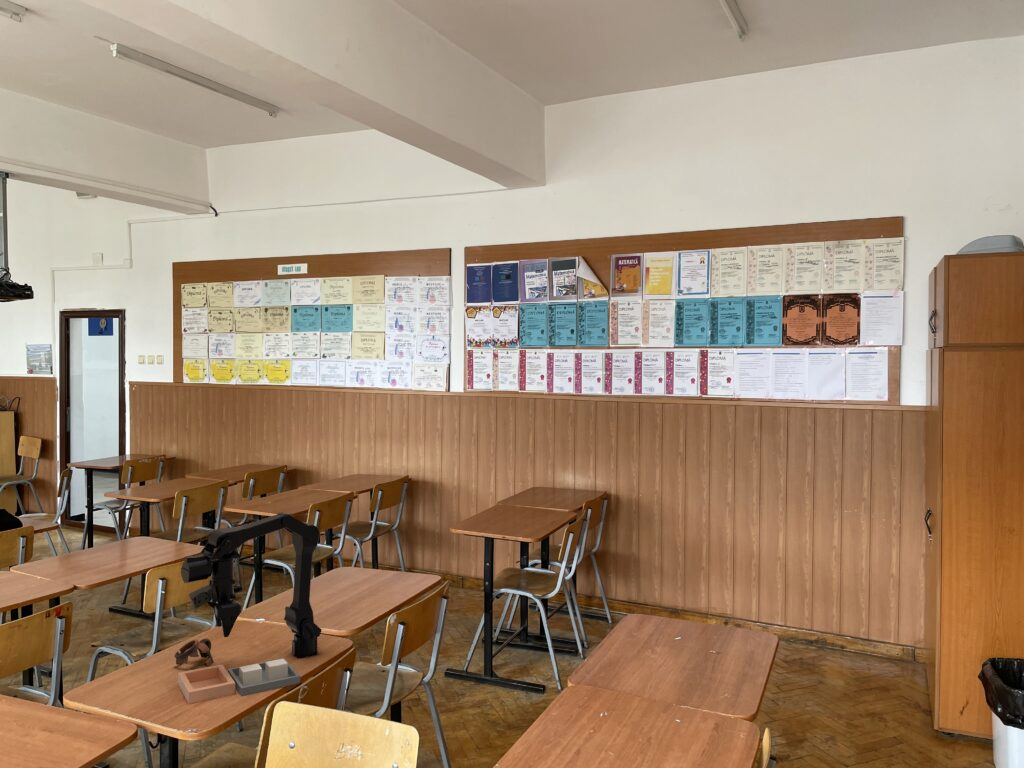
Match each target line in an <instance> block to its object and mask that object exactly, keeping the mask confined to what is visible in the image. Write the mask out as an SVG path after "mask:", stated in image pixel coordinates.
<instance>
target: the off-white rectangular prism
mask: <svg viewBox="0 0 1024 768" xmlns="http://www.w3.org/2000/svg"><path fill="white" fill-rule="evenodd" d="M278 659H279V660H277V659H273V660H274V661H272V660H267V661H268V662H267V661H264V662H265V677H266V678H267V679H268V681H273V680H278V679H282V678H287V677H288V663H289V662H288V661H287V660H286V659H285V658H284V659H285V660H286V661H287V662H288V663H287V662H286V661H285V660H284V659H282V658H278Z"/></svg>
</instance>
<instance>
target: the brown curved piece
mask: <svg viewBox="0 0 1024 768" xmlns="http://www.w3.org/2000/svg"><path fill="white" fill-rule="evenodd" d="M211 649H212V642H211V640H210V639H209V638H207V637H206V638H203V639H201V640H200V641H199V640H198V639H192V640H190V641H188V642H187V643H185V644H184V645H182V646H181V647H180V648H179V651H176V653H175V654H174V658H175V664H176V665H177V666H178V665H179V666H181V665H183V664H187V665H188V662H189V660H188V659H189V657H190V658H199V656H200V658H204V659H207V660H206V661H205V665H206V666H207V667H211V666H213V664H214V659H213V656H212V653H211ZM199 654H200V655H199Z"/></svg>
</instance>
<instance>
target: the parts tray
mask: <svg viewBox="0 0 1024 768" xmlns="http://www.w3.org/2000/svg"><path fill="white" fill-rule="evenodd" d="M279 659H280V658H277V659H276V660H279ZM281 659H284V660H285V661H286V662H287V663H288V677H287V678H282V679H278V680H273V681H268V679H267V678H266V677H265V662H268V661H269V660H267V661H262V662H258V663H257V662H256V663H255V664H259V665H260V667H261V668H262V683H258V684H254V685H249V686H244V687H243V685H242V684H241V682H240V681H239V667H243V666H244V665H242V666H237V667H231V668H227V672H228V673H229V675H230V676H231V678H232V679H233V680H234V682H235V691H237V692H238V695H240V697H244V696H249V695H253V694H258V693H262V692H266V691H271V690H276V689H281V688H286V687H291V686H294V685H300V684H301V675H300V673H298V672H297V671H296V670H295V668H294V667H293V666H292V665H291V664H290V663H289V662H288V661H287V660H286V658H285V657H283V658H281ZM274 660H275V659H272V660H271V661H274ZM253 664H254V663H252V664H250V665H253ZM248 665H249V664H247V665H245V666H248Z"/></svg>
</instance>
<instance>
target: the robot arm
mask: <svg viewBox="0 0 1024 768" xmlns="http://www.w3.org/2000/svg"><path fill="white" fill-rule="evenodd" d="M282 529H283V530H285V531H286V532H288V533H290V534H291V539H292V540H291V541H292V545H293V548H294V551H295V565H294V580H293V593H292V594H293V596H292V602H291V603H290V605H289V606H285V607H284V614H285V615H284V618H283V620H284V621H285V625H286V626H287V627H288V628H289V629H290V630H291V633H293V640H291V655H293V656H294V657H296V658H297V659H298V660H299V659H305V658H310V657H314V656H319V655H320V654H319V652H318V638H319V637H320V636H321V633H322V628H321V627H319V625H317V624H316V623H315V618H314V617H315V616H314V611H313V609H312V604H311V602H310V601H311V600H310V599H311V597H310V596H311V583H312V581H311V580H312V567H313V566H312V565H313V554H314V552H315V550H316V548H317V547H318V543H319V540H320V539H319V538H320V535H321V534H320V529H319V528H318V527H317V526H316V525H315V524H311V523H308V522H306V521H300V520H299V519H297V518H295V517H293V515H291V514H290V513H286V512H283V511H280V512H279V513H276V514H274V515H271V516H269V517H265V518H263V519H259V520H256V521H252V522H250V523H247V524H244V525H241V526H234V527H232V526H230V527H224V528H223V527H222V528H216V529H214V530H213V531H211V533H210V534H209V536H208V541H206V543H205V545H204V546H203V548H202V550H201V551H200V552H199V553H200V554H199V555H198V554H197V555H193V556H192V555H189V556H188V555H187V556H185V557H183V558H184V559H183V560H184V561H183V562H182V565H181V567H180V574H181V580H182V581H183V582H184V584H189V583H194V582H198V581H200V582H201V581H205V580H208V579H209V580H208V585H204V586H201V587H200V588H197V589H196V590H193V591H191V592H190V593H189V594H188V597H189V600H190V603H191V605H192V606H193V608H194V609H198V608H200V607H201V606H202V605H205V604H207V605H208V606H210V607H211V608H212V611H213V614H214V619H215V624H216V627H218V628H220V627H221V628H222V629H221V630H222V634H223V637H224V638H228V637H229V636H230V634H231V632H232V630H233V627H234V625H235V623H236V621H237V619H238V618H239V617H240V614H242V605H241V603H240V602H239V601H237V600H236V593H235V592H234V589H235V588H234V585H235V584H236V579H235V578H234V571H235V570H234V567H235V565H234V562H235V559H240V558H242V554H240V553H239V552H238V551H237V549H238V548H241V546H242V545H244V544H245V543H247V542H249V541H251V540H254V539H257V538H259V537H262V536H265V535H268V534H271V533H273V532H276V531H279V530H282ZM214 550H215V551H214Z"/></svg>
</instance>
